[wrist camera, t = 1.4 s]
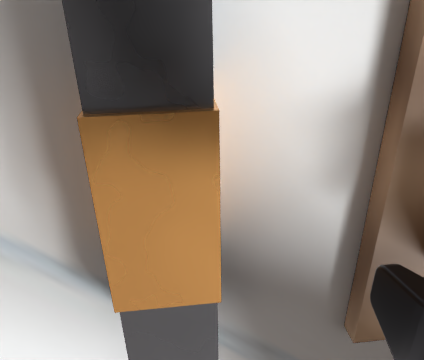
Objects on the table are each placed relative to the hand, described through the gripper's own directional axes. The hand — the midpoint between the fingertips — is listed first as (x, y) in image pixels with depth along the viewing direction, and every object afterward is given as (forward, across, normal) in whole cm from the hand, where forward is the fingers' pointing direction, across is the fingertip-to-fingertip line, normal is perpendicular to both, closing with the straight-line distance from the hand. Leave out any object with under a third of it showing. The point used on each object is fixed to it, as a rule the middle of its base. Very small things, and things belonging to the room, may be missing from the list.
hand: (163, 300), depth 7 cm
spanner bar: (+6, 0, 0) cm, 6 cm away
